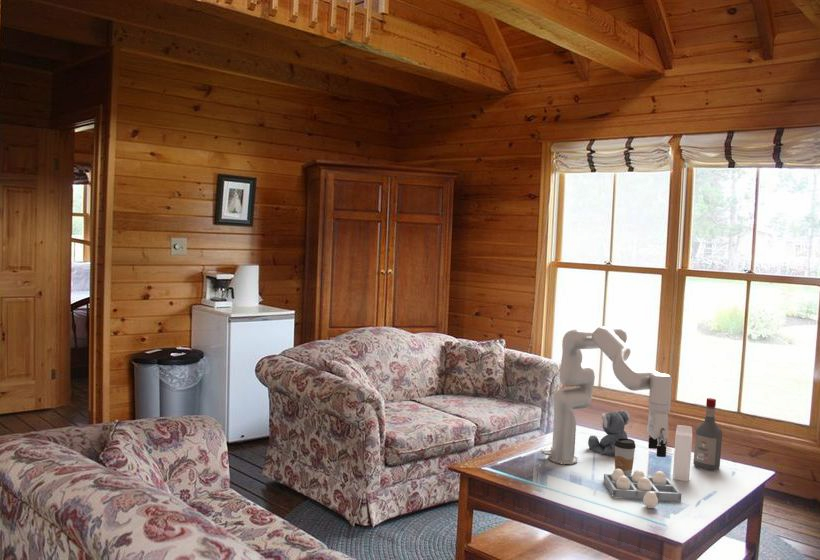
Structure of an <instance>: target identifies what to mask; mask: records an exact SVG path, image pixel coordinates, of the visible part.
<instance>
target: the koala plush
mask: <svg viewBox="0 0 820 560" xmlns="http://www.w3.org/2000/svg"><path fill="white" fill-rule="evenodd" d="M601 419H602V429H603V431H604V432H605V436H603V437H602V438H601V439H600V440H599V439H598V438H599V437H598V436H596V435H590V436H589V437H588V441H587V445H588V448H589V449H590V451H593V450H594V451H593V452H595V451H596V452H595V453H598V452H599V453H598V454H600V453H601V454H600V455H602V454H603V455H602V456H606V455H607V456H609V457H613V456H614V457H615V445H614V444H615V441H616V439H617V438H628V435H627V434H628V433H627V432H626V431H625V427H626V425H628V424H629V422H630V419H631V416H630V414H629V413H628V411H627V410H625V409H621V410H619V411H618V412H616V411H611V412H610V411H609V412H608V413H605V412H604V413H602V414H601ZM628 439H629V438H628Z"/></svg>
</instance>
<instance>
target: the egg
mask: <svg viewBox="0 0 820 560" xmlns="http://www.w3.org/2000/svg"><path fill="white" fill-rule="evenodd" d="M642 502H643V504H644V505H645V507H646V508H647V507H649V508H653V509H654V508H656V507H657V506H658V505H659V500H658V498H657V496H656V494H655V493H654V492H653V491H648V492H647V493H646V494H645V496H644V497H643V499H642ZM649 508H648V509H649Z"/></svg>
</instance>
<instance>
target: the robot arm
mask: <svg viewBox="0 0 820 560" xmlns="http://www.w3.org/2000/svg"><path fill="white" fill-rule="evenodd" d="M627 338H628V335H627V333H626V330H624V328H622V326H621V327H620V326H618V325H610V326H609V325H607V326H606V325H604V326H600V327H596V328H577V329H571V330H568V331H567V332H566V333H565V334H564V335H563V337H562V344H561V346H562V351H561V352H562V354H561V355H562V356H561V359H560V370H559V377H558V379H559V382H560V384H561V385H563V386H565V387H566V388H565V387H563V388H560V389H558V390H556V391H554V394H553V395H552V406H553V429H552V430H553V431H552V444H551V445H552V446H551V447H550V448H548V449H545V448H543V449H542V448H541V450H540V453H541V454H542V455H544V456H547V459H548V458H549V459H550V460H552V461H554V462H557V463H556V464H558V463H562V464H561V465H565V464H570V465H574V463H575V464H577V463H578V462H577V461H579V459H578V457H576V456H575V451H576V436H577V435H576V433H577V419H576V416H575V414H574V411H575V410H583V409H586V408H588V407H589V406H590V405H591V403H592V400H593V394H594V388H595V387H594V386H595V376H596V375H595V371H594V369H593V367H592V366H591V365H590V364H589V363H585V362H583V354H582V351H581V350H593V349H600V350H601V352H602V353H603V354H604V355H605V356H606V357H607V358H608V359H609V360H610V361H611V362H612V364H611V365H612V370H613V374H614V376H615V377H616V379H617V380H618V381H619V382H620V383H621V384H622V386H624V387H625V388H626V389H628V390H630V391H634V392H635V391H643V390H644V391H645V390H646V391H647V390H649V396H648V400H649V401H648V417H647V426H646V433H647V435H648V449H650V450H656V457H658V458H666V457H667V446H668V445H667V444H668V437H669V414H670V413H671V402H672V400H671V399H672V385H673V383H672V381H673V378H672V376H671V375H670V374H668V373H661V372H659V371H657V370H655V369H649V368H648V369H636V370H635V369H634V370H633V369H632V368H631V367H630V366H629V365H628V363H626V361H627V360H628V359H629V357H630V355H631V349H630V347H629V346H628V345H627V344H626V342H627ZM549 459H548V460H549ZM550 460H549V461H550ZM552 461H551V462H552ZM554 462H553V463H554ZM576 462H577V463H576Z"/></svg>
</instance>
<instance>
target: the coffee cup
mask: <svg viewBox="0 0 820 560" xmlns="http://www.w3.org/2000/svg"><path fill="white" fill-rule="evenodd" d="M614 445H615V456H614V470H615V469H621V470H622V471H623V473H624V475H628V476H632V472H633V467H634V466H633V465H634V461H635V460H634V459H635V458H634V456H635V452H636V442H635V440H633V439H632V438H617V439H616V441H615V444H614Z"/></svg>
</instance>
